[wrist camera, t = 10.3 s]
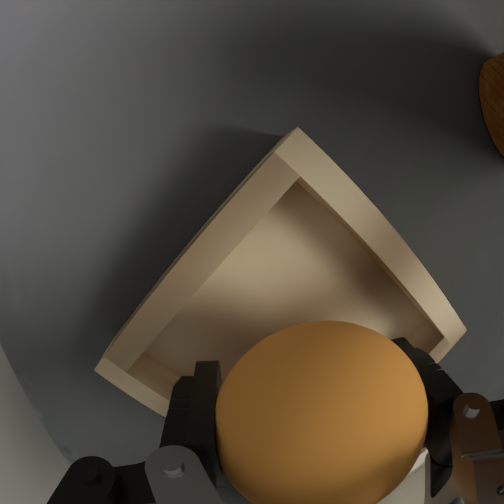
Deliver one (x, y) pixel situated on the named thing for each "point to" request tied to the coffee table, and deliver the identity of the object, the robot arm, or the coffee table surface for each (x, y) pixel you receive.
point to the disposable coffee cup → (493, 98)
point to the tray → (278, 277)
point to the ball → (321, 417)
